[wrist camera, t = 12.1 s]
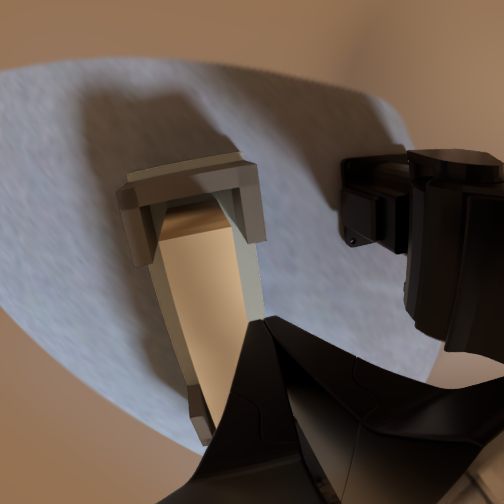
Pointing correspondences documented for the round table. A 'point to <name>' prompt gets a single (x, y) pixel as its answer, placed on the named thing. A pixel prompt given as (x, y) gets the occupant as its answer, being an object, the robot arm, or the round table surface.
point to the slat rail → (148, 250)
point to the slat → (206, 294)
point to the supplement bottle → (316, 469)
